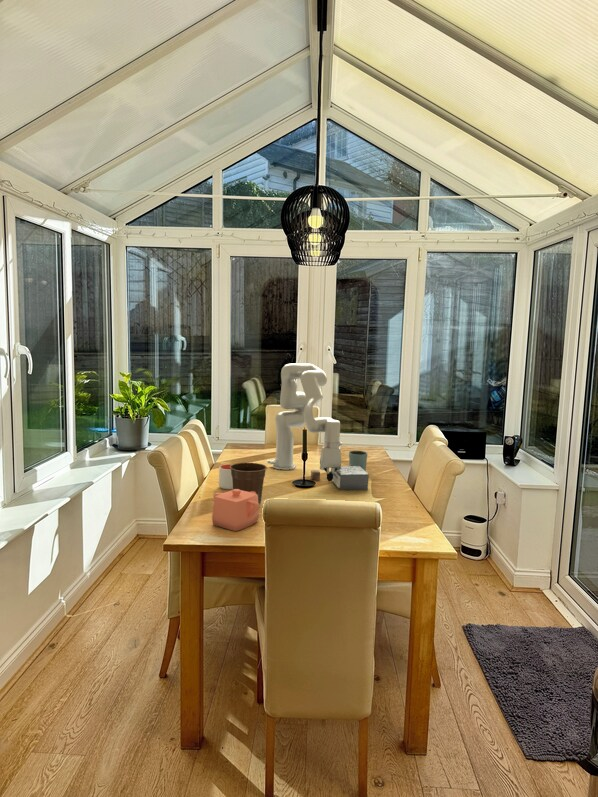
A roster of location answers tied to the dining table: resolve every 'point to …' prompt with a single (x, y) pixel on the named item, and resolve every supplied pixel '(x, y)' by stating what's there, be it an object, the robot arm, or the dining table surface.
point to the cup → (225, 477)
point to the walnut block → (315, 474)
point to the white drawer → (336, 479)
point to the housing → (353, 478)
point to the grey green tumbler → (358, 459)
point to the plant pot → (248, 477)
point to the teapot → (235, 509)
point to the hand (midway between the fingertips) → (329, 480)
